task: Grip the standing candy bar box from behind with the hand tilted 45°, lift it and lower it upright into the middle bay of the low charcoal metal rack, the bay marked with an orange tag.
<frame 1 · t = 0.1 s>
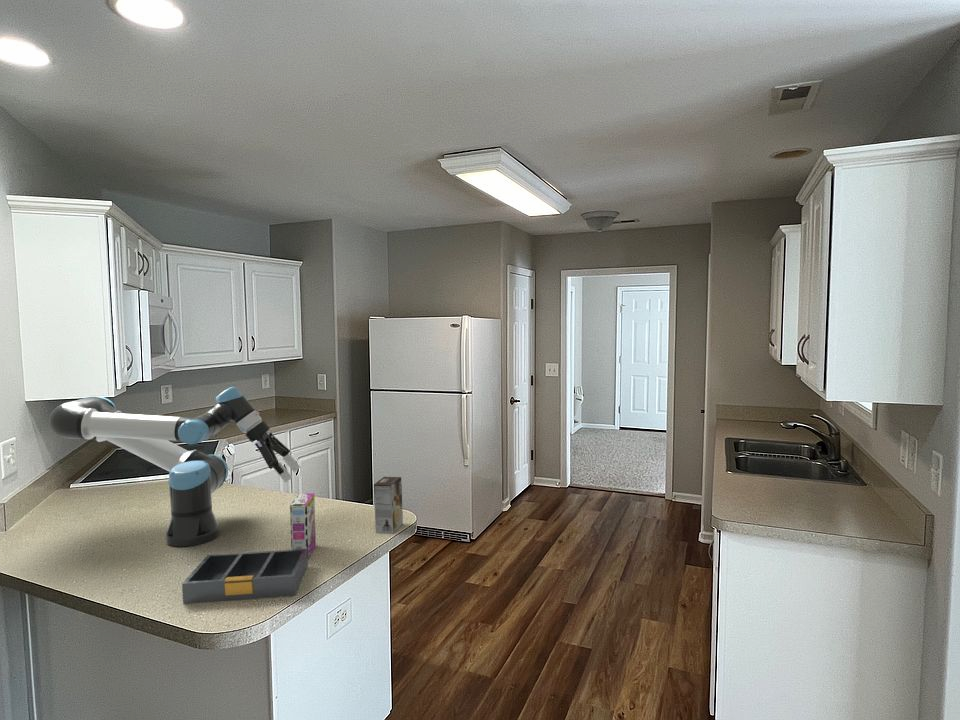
hand: (293, 474, 195), 15 cm above the worktop, tool tilted 35°, fingers open, 13 cm apart
coffee box: (389, 528, 185), on the worktop
bay rack: (249, 583, 147), on the worktop
candy bar box: (304, 553, 166), on the worktop
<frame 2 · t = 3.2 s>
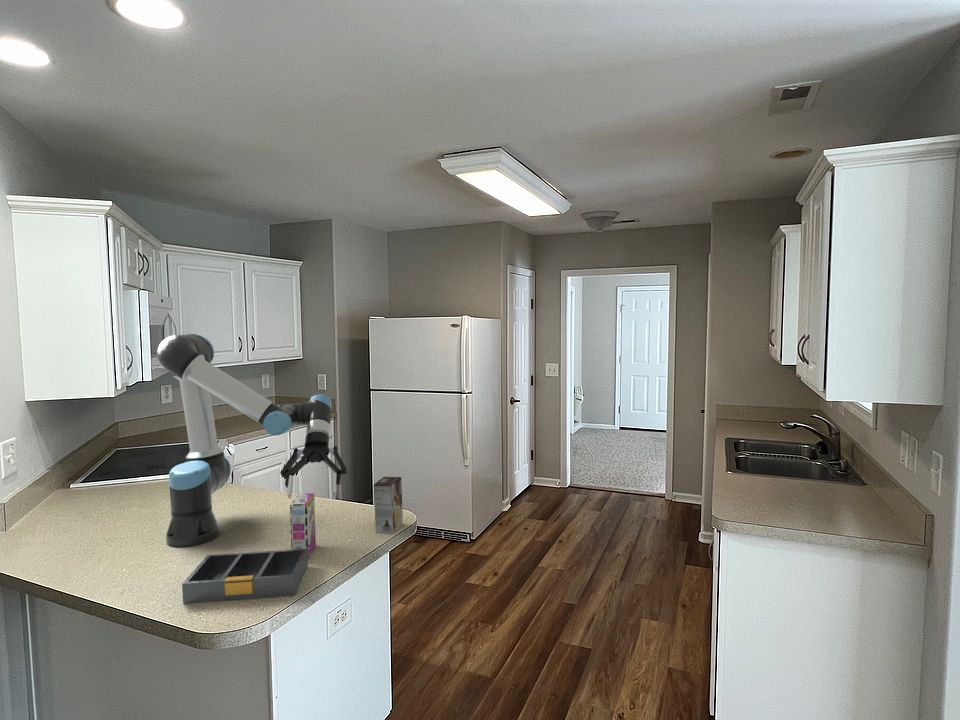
hand: (311, 495, 174), 15 cm above the worktop, tool tilted 45°, fingers open, 13 cm apart
nothing on the worktop moved.
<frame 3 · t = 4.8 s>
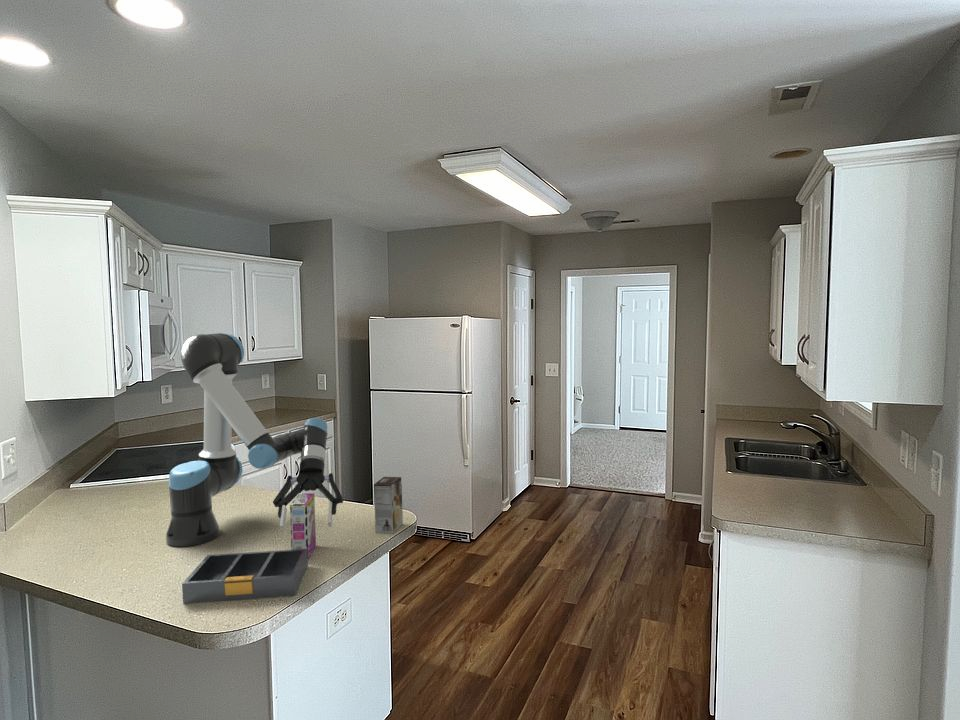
hand: (305, 526, 165), 8 cm above the worktop, tool tilted 45°, fingers open, 13 cm apart
nothing on the worktop moved.
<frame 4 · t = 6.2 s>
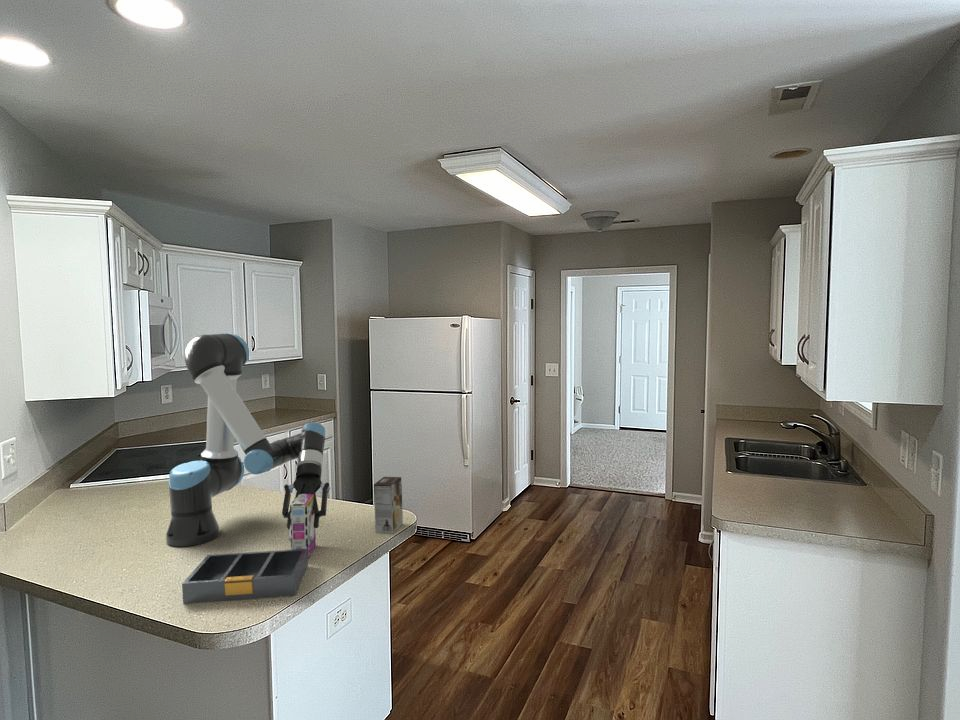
hand: (301, 538, 162), 6 cm above the worktop, tool tilted 45°, fingers closed on candy bar box, 5 cm apart
candy bar box: (304, 553, 166), on the worktop, touching gripper
everything else where it was.
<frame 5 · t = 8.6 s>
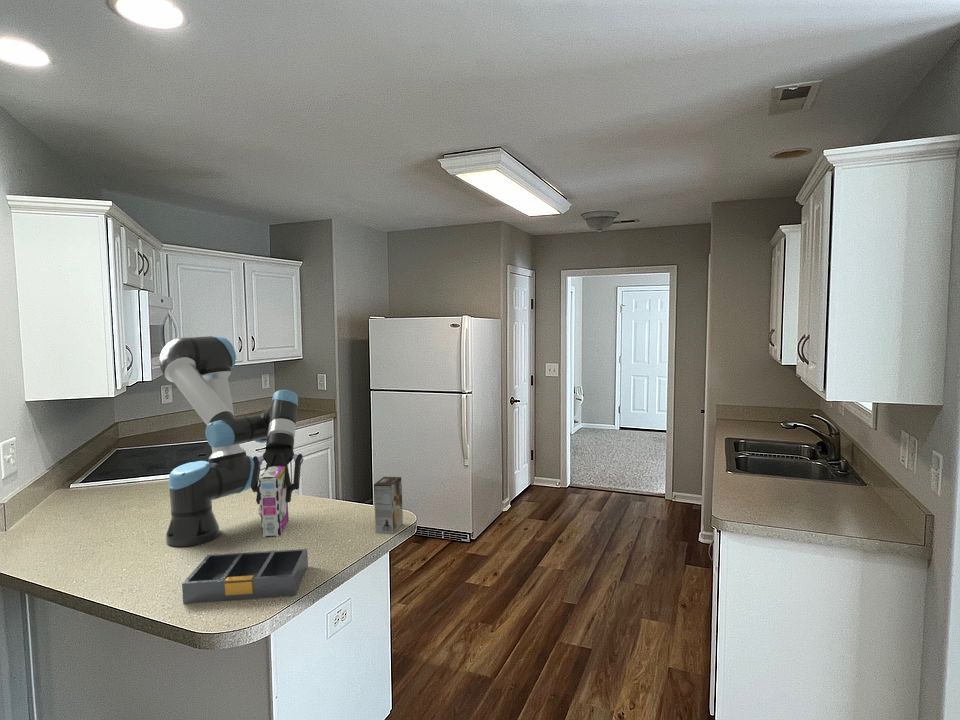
hand: (272, 513, 149), 17 cm above the worktop, tool tilted 45°, fingers closed on candy bar box, 5 cm apart
candy bar box: (276, 530, 154), point 11 cm above the worktop, touching gripper
everything else where it was.
when the fingers open (8 cm above the worktop, at t = 11.3 s): candy bar box drops 1 cm, resting on bay rack.
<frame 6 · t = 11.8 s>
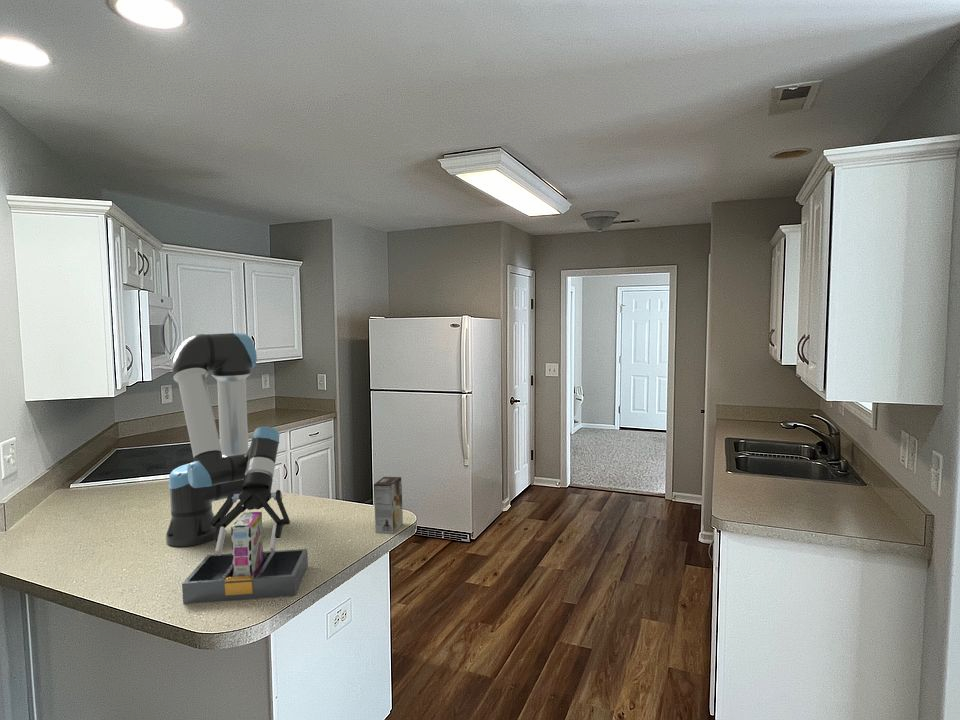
hand: (245, 551, 144), 10 cm above the worktop, tool tilted 45°, fingers open, 13 cm apart
candy bar box: (249, 580, 147), point 1 cm above the worktop, touching bay rack
everything else where it was.
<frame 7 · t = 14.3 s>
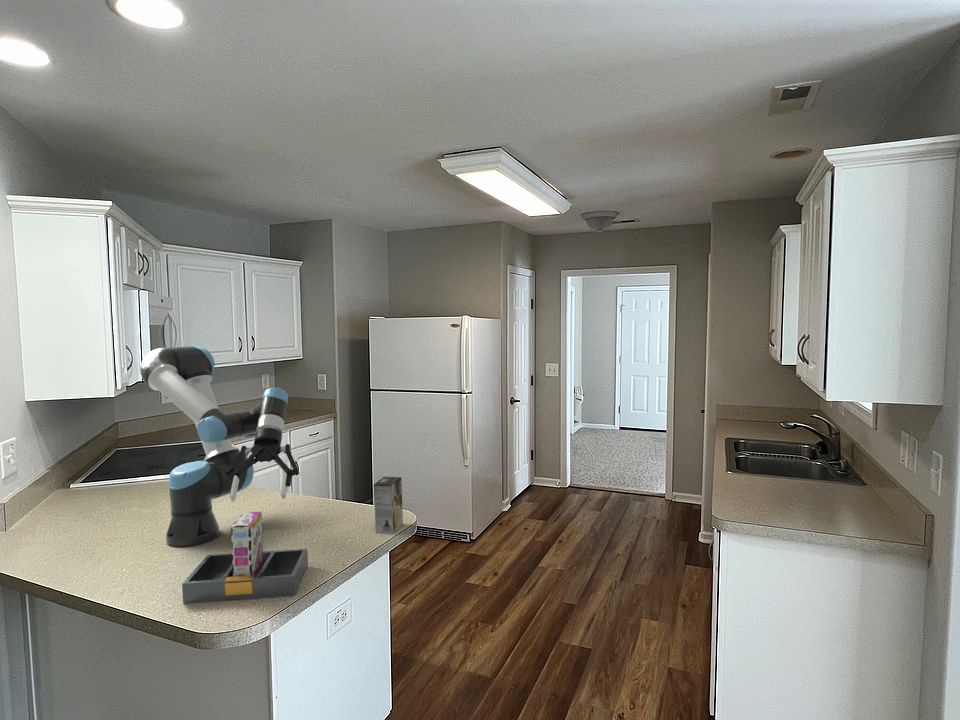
hand: (257, 497, 157), 20 cm above the worktop, tool tilted 45°, fingers open, 13 cm apart
nothing on the worktop moved.
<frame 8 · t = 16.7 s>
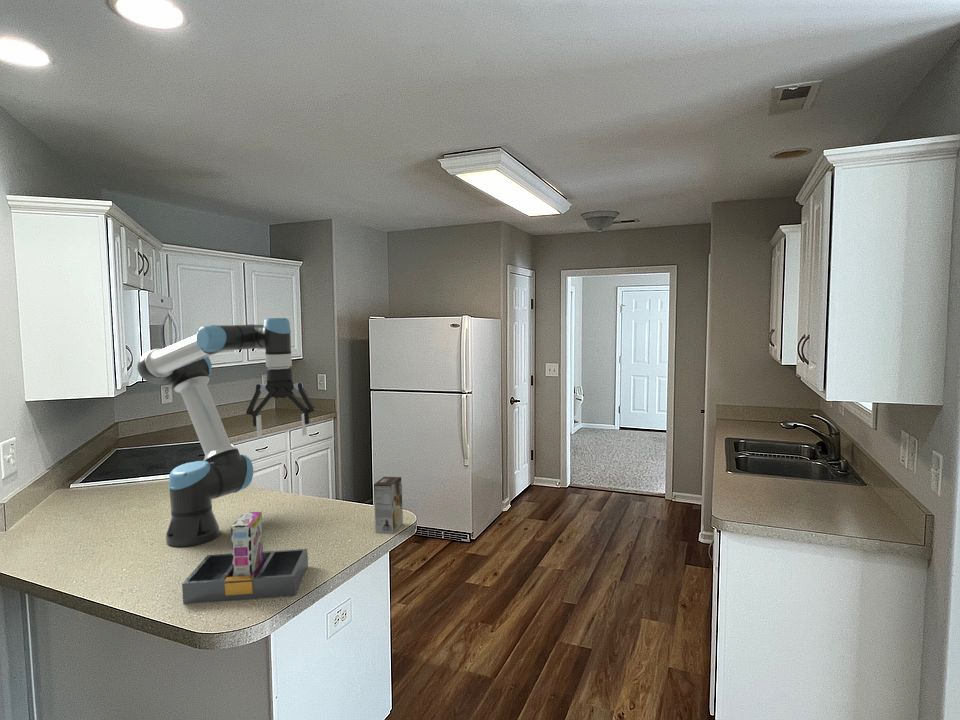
hand: (282, 435, 176), 33 cm above the worktop, tool pointing down, fingers open, 13 cm apart
nothing on the worktop moved.
at the end: candy bar box 0.1 cm off-centre on the bay rack, point 0.8 cm above the bay rack's base; candy bar box tilted 0°; the gripper is holding nothing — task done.
